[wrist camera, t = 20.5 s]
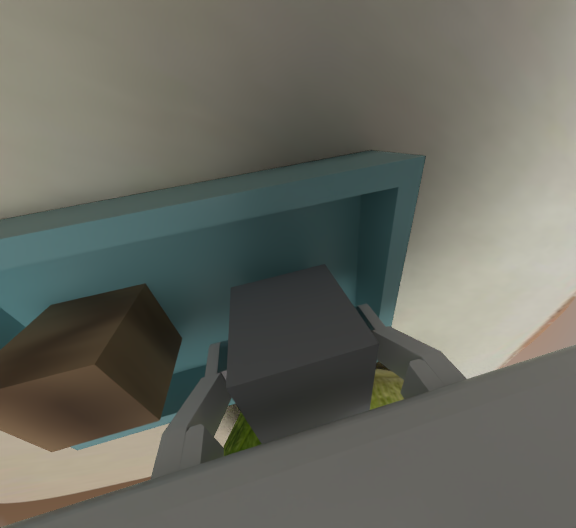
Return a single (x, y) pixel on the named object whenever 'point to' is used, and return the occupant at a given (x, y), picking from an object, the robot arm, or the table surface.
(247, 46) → the table surface
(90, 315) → the walnut block
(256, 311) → the charcoal block
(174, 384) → the teal tray
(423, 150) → the table surface
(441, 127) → the table surface
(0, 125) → the table surface
